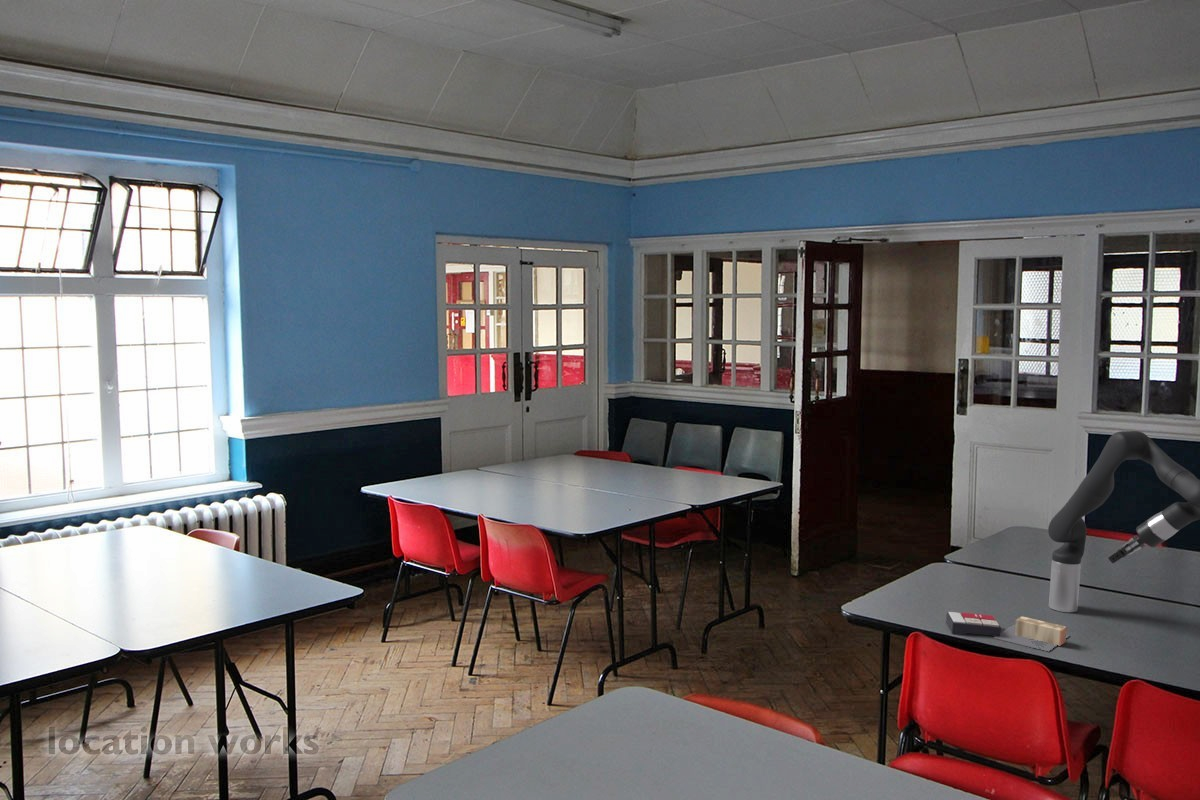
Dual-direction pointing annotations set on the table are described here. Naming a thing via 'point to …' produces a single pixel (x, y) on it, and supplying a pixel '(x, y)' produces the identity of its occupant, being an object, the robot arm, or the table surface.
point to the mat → (1022, 639)
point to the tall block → (1040, 631)
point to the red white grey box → (972, 624)
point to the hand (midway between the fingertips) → (1110, 560)
